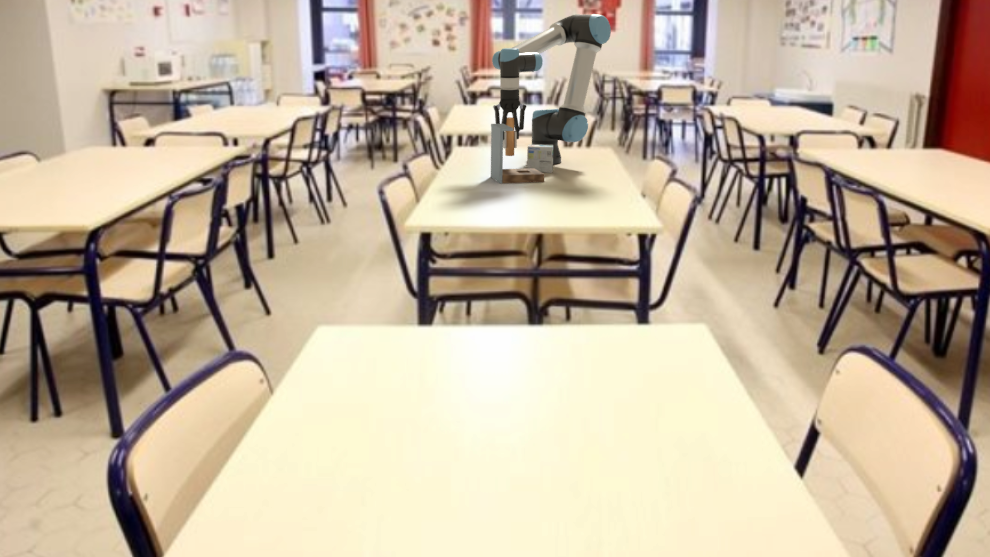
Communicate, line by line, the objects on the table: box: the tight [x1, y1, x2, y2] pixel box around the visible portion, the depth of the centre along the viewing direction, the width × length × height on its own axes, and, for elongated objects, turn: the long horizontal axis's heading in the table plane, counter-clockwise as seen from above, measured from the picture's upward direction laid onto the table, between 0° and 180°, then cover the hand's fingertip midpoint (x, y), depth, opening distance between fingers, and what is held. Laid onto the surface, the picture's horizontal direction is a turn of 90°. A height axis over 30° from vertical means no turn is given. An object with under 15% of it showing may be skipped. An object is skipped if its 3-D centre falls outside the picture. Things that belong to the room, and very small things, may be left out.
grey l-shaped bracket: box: [490, 123, 513, 184], centre depth 324 cm, size 5×15×21 cm, turn 14°
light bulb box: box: [526, 144, 554, 174], centre depth 347 cm, size 11×7×11 cm, turn 84°
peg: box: [504, 116, 515, 157], centre depth 336 cm, size 4×4×15 cm
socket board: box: [501, 167, 545, 184], centre depth 329 cm, size 17×14×3 cm
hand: (509, 147), depth 337 cm, fingers closed on peg, 3 cm apart
